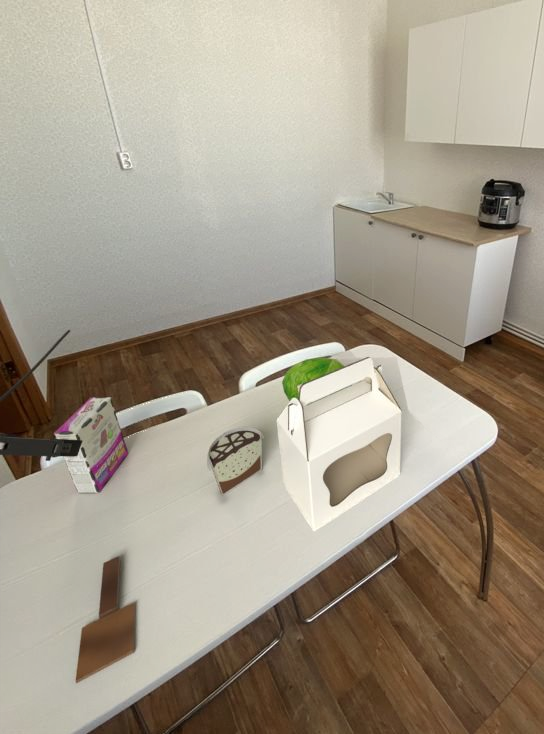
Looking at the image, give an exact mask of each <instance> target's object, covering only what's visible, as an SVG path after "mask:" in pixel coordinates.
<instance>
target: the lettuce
mask: <svg viewBox="0 0 544 734" xmlns="http://www.w3.org/2000/svg"><path fill="white" fill-rule="evenodd" d="M344 366H345V365H343V363H341V362H340V361H339V360H338V359H337V358H330V357H322V356H319V357H313V358H306V359H303V360H301V361H300V362H297V363H295V364H294V365H293V366H291V367H290V369H288V370H287V371H286V372H285V374H284V377H283V379H282V380H281V384H282V388H283V392H284V394H285V396H286V398H287V400H288V401H289V402H290V401H291V399H292V398H298V399H299V393H298V390H297V386H298V385H300V384H303V383H305V382H308V381H310V380H312V379H315V378H317V377H320V376H322V375H325V374H327V373H330V372H332V371H334V370H337V369H339V368H342V367H344ZM352 385H353V384H352ZM352 385H350V386H352ZM350 386H347V387H350ZM347 387H345V388H347ZM345 388H343V389H345ZM343 389H341V390H343ZM341 390H338V391H341ZM338 391H336V392H338ZM336 392H334V393H336ZM334 393H332V394H334ZM332 394H330V395H332ZM327 396H329V395H327ZM327 396H325V397H327ZM325 397H323V398H325ZM323 398H321V399H323ZM321 399H318V400H321ZM318 400H316V401H318ZM316 401H314V402H316ZM314 402H311V403H310V404H312V403H314ZM307 405H309V404H307ZM307 405H306V406H307Z"/></svg>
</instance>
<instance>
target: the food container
mask: <svg viewBox="0 0 544 734" xmlns="http://www.w3.org/2000/svg"><path fill="white" fill-rule="evenodd" d="M264 439H265V437H264V435H263V433H262V432H261V431H260V430H259V429H256V428H253V427H249V426H248V427H247V426H244V427H243V426H242V427H236V428H232V429H230V430H227V431H225V432H222V434H220V435H219V436H218V437H216V438H215V439H214V441H213V442H212V443H211V444H210V446H209V449H208V451H207V458H206V466H207V469H208V471H209V472H211V471H212V472H213V475H214V478H215V480H216V483H217V487H218V489H219V492H220V494H221V496H222V497H223V496H225V495H227V494H228V493H230V492H231V491H232V490H234V489H236V488H237V487H238V486H240V485H242V484H243V483H244V482H247V480H249V479H251V478H252V477H254V476H255V475H256V474H258V473H260V472H261V471H262V470H263V457H262V452H263V451H262V448H263V447H262V446H263V445H262V440H264Z"/></svg>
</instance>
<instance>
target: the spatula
mask: <svg viewBox="0 0 544 734" xmlns="http://www.w3.org/2000/svg"><path fill="white" fill-rule="evenodd" d="M121 562H122V560H121V558H120V555H119V556H116V557H114V558H112V559H109V560H107V561H105V562H103V564H102V574H101V585H100V586H101V587H100V597H99V599H100V600H99V606H98V607H99V609H98V618H99V619H97V620H95V621H93V622H91V623H89V624H87V625H85V626H83V627H81V633H80V640H79V648H78V659H77V666H76V674H75V684H78V683H80V682H82V681H84V680H86V679H87V678H89V677H91V676H93V675H95V674H96V673H98V672H101V671H102V670H104V669H107V668H108V667H110V666H111V665H114V664H115V663H117V662H120V661H121V660H123V659H125V658H126V657H129V656H130V655H132V654H134V653H135V631H136V623H135V622H136V616H135V615H136V603H135V602H132V603H130V604H129V605H126V606H124V607H121V608H120V609H119V605H120V604H119V603H120V602H119V601H120V588H121V587H120V585H121Z"/></svg>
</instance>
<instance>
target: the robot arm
mask: <svg viewBox="0 0 544 734" xmlns="http://www.w3.org/2000/svg"><path fill="white" fill-rule="evenodd" d="M70 332H71V329H67V330H66V331H65V332H64V333H63V334H62V336H61V337H59V339H58V340H57V341H56V342H55V343H54V344H53V345H52V346H51V347H50V348H49V350H48V351H47V352H46V353H45V354H44V355H43V356H42V357H41V358H40V359H39V360H38V361H37V362H36V364H34V365H33V367H32V368H31V369H30V370H29V371H28V372H26V374H24V375H23V377H21V378H20V379H19V381H17V382H16V383H15V384H13V386H12V387H10V389H8V390H7V391H6V392H5V393H3V395H1V396H0V403H1V402H2V401H3V400H5V399H6V398H7V397H8V396H9V395H11V394H12V392H14V391H15V390H16V389H17V388H19V386H21V384H22V383H24V382H25V380H27V379H28V378H29V377H30V375H31V374H33V372H35V371H36V369H38V367H40V365H41V364H42V363H43V362H44V361H45V360H46V359H47V358H48V357H49V356H50V355H51V354H52V352H53V351H54V350H55V349H56V348H57V347H58V345H59V344H60V343H61V342H62V341H63V340H64V339H65V338H66V337H67V336H68V335H69V333H70ZM82 441H83V440H68V439H56V438H49V439H47V438H31V437H19V436H18V434H7V433H4V432H0V456H25V457H45V461H46V462H50V461H51V459H52V458H58V457H63V456H78V453H79V450H80V447H81V444H82Z"/></svg>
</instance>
